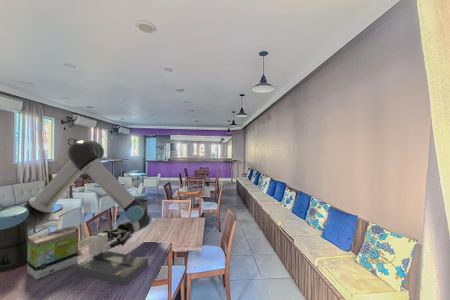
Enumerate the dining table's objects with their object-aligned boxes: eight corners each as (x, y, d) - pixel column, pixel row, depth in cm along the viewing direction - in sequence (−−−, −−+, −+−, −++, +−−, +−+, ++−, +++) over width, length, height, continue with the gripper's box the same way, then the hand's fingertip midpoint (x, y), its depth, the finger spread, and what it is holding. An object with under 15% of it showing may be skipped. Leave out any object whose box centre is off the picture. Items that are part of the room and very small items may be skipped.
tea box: (36, 281, 84) (36, 243, 84) (26, 272, 89) (26, 237, 89) (78, 263, 97) (78, 230, 96) (68, 257, 102) (68, 226, 102)
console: (75, 273, 89) (75, 265, 89) (103, 256, 103) (103, 250, 103) (124, 285, 82) (124, 277, 82) (148, 265, 95) (148, 258, 95)
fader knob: (88, 261, 92) (88, 237, 92) (100, 254, 98) (100, 232, 98) (96, 262, 91) (96, 238, 91) (107, 255, 97) (107, 233, 97)
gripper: (147, 238, 108) (114, 260, 88) (109, 232, 115) (69, 251, 95) (147, 224, 108) (114, 242, 87) (109, 218, 115) (69, 234, 95)
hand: (91, 247), depth 91 cm, fingers open, 12 cm apart
